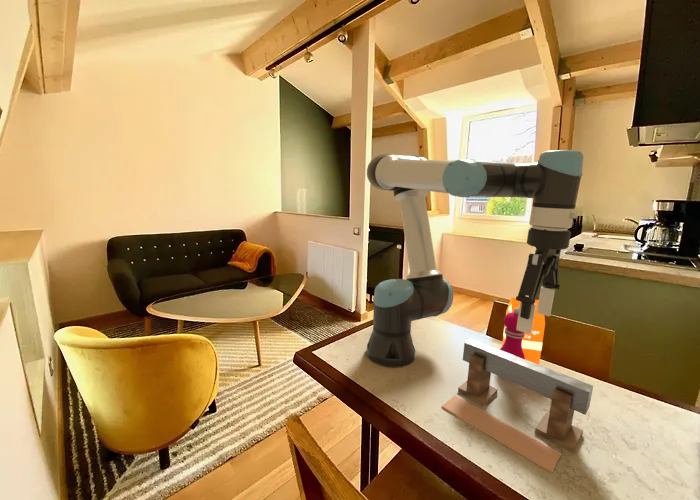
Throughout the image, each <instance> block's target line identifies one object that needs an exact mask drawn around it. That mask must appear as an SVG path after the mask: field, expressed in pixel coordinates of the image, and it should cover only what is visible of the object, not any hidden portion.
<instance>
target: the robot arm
mask: <svg viewBox="0 0 700 500" xmlns="http://www.w3.org/2000/svg"><path fill="white" fill-rule="evenodd" d="M583 167H584V154H583V152H581V151H579V150H574V149H561V150H559V149H558V150H547V151H543V152H542V153H541V154H540V155H539V157H538V160H537V161H536V162H531V163H530V162H529V163H527V162H526V163H524V162H523V163H521V162H520V163H510V162H509V163H508V162H498V161H486V160H485V161H484V160H476V159H471V158H462V159H455V160H454V159H427V158H425V157H422V156H418V155H413V154H412V155H404V154H403V155H401V154H393V153H383V154H379V155H377V156H375V157H373V158H372V159H371V160H370V162H369V163H368V166H367V169H366V176H367V177H366V178H367V180H368V182H369V183H370V184H371V186H372V187H374V188H376V189H377V190H381V191H388V192H389V191H391V192H392V193H393V198H394V200H396V201H397V202H398V203H399V206H400V207H399V208H400V213H401V220H402V226H403V234H404V240H405V247H406V248H405V249H406V254H407V260H408V268H409V273H408V275H407V276H406V279H403V278H397V279H395V278H393V279H392V278H391V279H387V280H383V281H381V282H379V283H378V284H377V285H376V286H375V289H374V292H373V293H374V295H373V314H372V315H373V318H372V319H373V320H372V325H373V326H372V331H371V334H370V337H369V339H368V342H367V345H366V355H367V357H368V359H369V360H370V361H372V362H373V363H375V364H377V365H379V366H383V367H387V368H402V367H406V366H408V365H410V364H412V363H413V362H414V360H416V359H415V358H416V348H415V346H414V343H413V337H412V335H411V333H412V332H411V329H412V323H413V321H418V320H423V319H427V318H430V317H435V318H436V317H437V316H438V317H439V316H440V315H443V314H445V313H447V312H448V311H449V310H450V308H451V307H452V305H453V302H454V290H453V288H452V285H451V284H450V283H449V281H448V280H447V279H445V278H443V276H444V275H443V273H442V272H441V271H440V270H439V269H438V268H437V265H436V259H435V258H436V257H435V252H434V246H433V238H432V233H431V225H430V221H429V213H428V208H427V207H428V206H427V201H426V197H427V196H428V195H429V193H430V192H434V193H442V194H449V195H451V196H452V197H453V196H454V197H459V198H473V197H474V198H478V197H480V198H483V197H484V198H485V197H486V198H488V197H489V198H523V199H524V198H525V199H526V198H527V199H532V205H531V211H530V217H529V226H531V227H530V228H528V232H527V239H526V244H527V245H528V246H530V247H534V248H535V251H534V253H529V254H528V258H527V264H526V268H525V269H524V270H525V271H524V274H523V276H522V277H523V278H522V281H521V284H520V287H519V291H518V294H517V296H516V297H515V298H516V300H517V301H520V308H519V314H518V321H517V328H516V330H518V331H521V332H524V333H527V334H531V333H532V327H533V321H534V315H535V309H536V304H535V300H537V297H538V300H539V302H538V308H537V313H539V314H542V315H545V316H546V317H550V316H551V313H552V309H553V303H554V298H555V297H554V296H555V293H556V290H559V289H560V287H561V285H560V281H559V278H560V259H561V258H560V256H561V251H563V250H567V249H568V248H569V246H570V240H571V236H572V235H571V234H572V232H571V231H570V230H568V229H570V228H572V227H573V222H574V219H577V218H578V214H577V213H575V209H576V206H577V205H576V203H577V199H578V194H579V190H580V189H579V188H580V184H581V179H582V176H583Z"/></svg>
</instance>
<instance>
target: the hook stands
mask: <svg viewBox="0 0 700 500" xmlns="http://www.w3.org/2000/svg"><path fill="white" fill-rule="evenodd" d="M483 364H484V359H483V358H481V357H478V356H476V355H474V354H471V355H470V360H469V363H468V369H467V370H468V371H467V380H465V382H463V383H462V384H461V385H459V386H458V388H457V389H458V390H457V392H458V393H460V394H462V395H463V396H466V397H468V398H469V399H471V400H473V401H475V402H477V403H479V404H481V406H482V405H483V406H484V407H485V406H486V405H488V403H489V402H491V400H492V399H493V398H494V397H495V396H497V395H498V390H499V389H498V388H496V387H493V386H491V374H492V373H491V372H488V371H486V370H484V369H483ZM571 399H572V396H571V395H569V394H566V393H564V392H561V391H559V390H557V389H554V391H553V395H552V400H551V402H550V408H549V413H547V412H545V413H544V414H543V416H542V418H541V419H540V421H539V422H538V423H537V425H536V426H535V428H534V433H535V434H537V435H538V436H540V437H543V438H544V439H546V440H548V441H550V442H552V443H553V444H555V445H557V446H559V447H561V448H562V449H565V450H566V451H569V452H570V453H572V454H574V453H575V451H576V449H577V447H578V444H579V443H580V440H581V438H582V436H583V434H584V433H583V432H584V430H583V429H581V428H579V427H578V426H575V425H573V421H574V420H573V419H574V413H575V410H573V409H571V408H570V405H571Z"/></svg>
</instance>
